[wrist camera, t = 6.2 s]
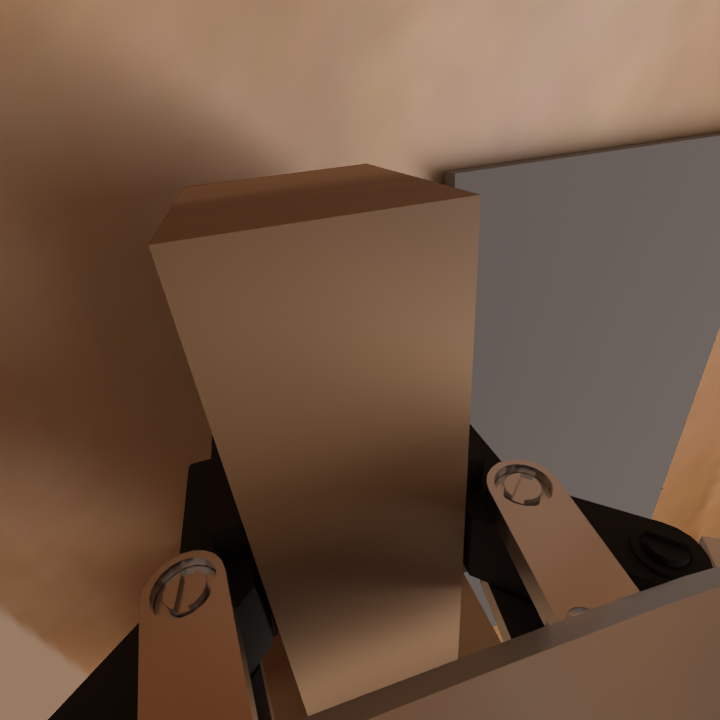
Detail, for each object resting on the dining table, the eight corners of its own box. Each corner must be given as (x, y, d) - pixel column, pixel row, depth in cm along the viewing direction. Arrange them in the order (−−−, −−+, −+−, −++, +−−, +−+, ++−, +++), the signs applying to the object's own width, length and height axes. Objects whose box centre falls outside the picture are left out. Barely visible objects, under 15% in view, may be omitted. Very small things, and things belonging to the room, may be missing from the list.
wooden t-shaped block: (81, 200, 8) (-101, 296, 3) (446, 153, 9) (650, 178, 5) (264, 661, 16) (279, 861, 11) (441, 600, 17) (514, 758, 13)
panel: (444, 171, 11) (454, 173, 11) (769, 125, 13) (791, 125, 13) (443, 631, 22) (448, 643, 22) (622, 566, 24) (630, 575, 24)
